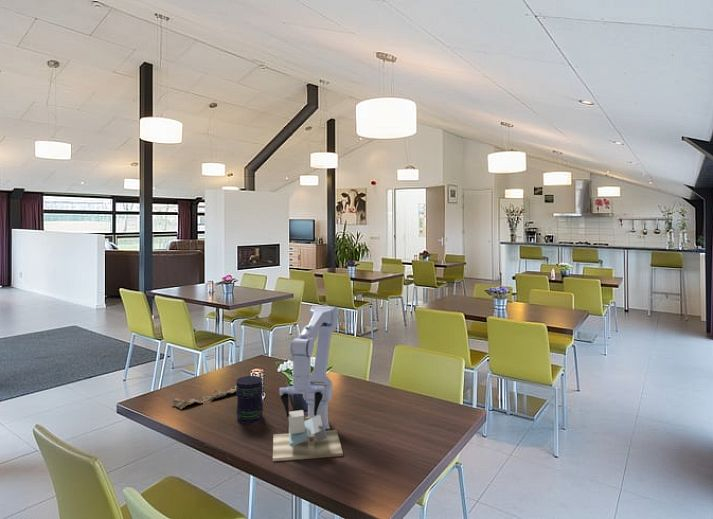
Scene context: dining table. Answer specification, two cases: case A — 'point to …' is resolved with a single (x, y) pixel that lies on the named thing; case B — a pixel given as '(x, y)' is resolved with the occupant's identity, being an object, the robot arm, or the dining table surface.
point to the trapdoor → (309, 431)
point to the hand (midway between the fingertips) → (301, 415)
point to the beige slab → (306, 447)
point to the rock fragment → (208, 398)
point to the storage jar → (249, 399)
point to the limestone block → (296, 422)
